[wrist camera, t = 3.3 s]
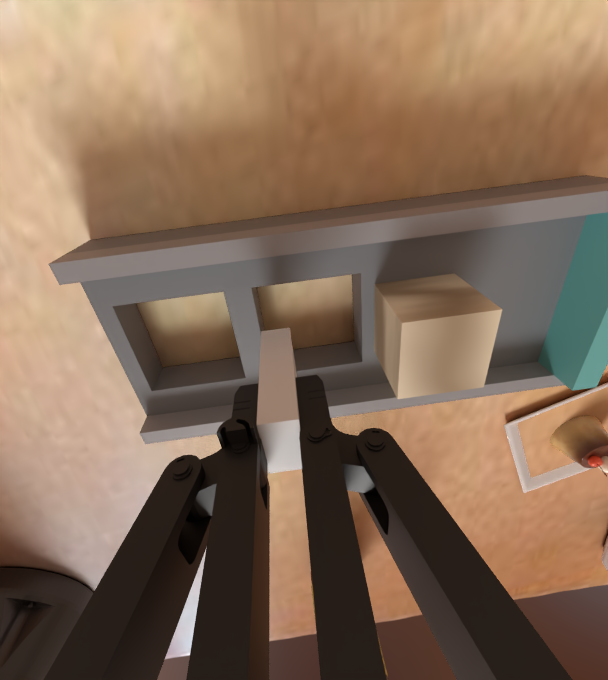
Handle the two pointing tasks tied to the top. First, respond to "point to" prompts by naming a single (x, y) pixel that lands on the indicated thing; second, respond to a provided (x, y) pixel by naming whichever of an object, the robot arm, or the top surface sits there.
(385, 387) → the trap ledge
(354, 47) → the top surface
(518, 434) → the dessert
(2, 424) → the top surface
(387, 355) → the maple block
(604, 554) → the stereo radio cassette player
